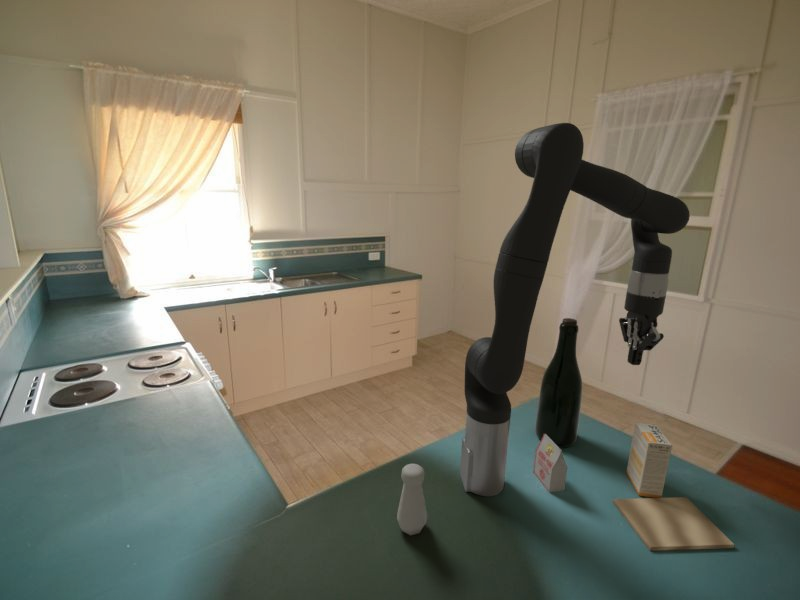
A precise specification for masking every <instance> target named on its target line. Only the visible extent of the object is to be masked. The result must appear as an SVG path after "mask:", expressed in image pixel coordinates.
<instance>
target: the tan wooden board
mask: <svg viewBox="0 0 800 600" xmlns="http://www.w3.org/2000/svg"><path fill="white" fill-rule="evenodd" d="M612 504H613V505H614V506H615V507H616V509H617V510H618V512H619V513H620V514H621V515H622V516H623V518H624V519H625V520H626V522H627V523H628V524H629V526H630V527H631V528H632V530H633V531H634V532H635V533H636V535H637V536H638V537H639V539H640V540H641V541H642V542H643V544H644V545H645V546H646V548H647V549H648V551H650V552H652V551H680V550H681V551H682V550H708V549H709V550H710V549H714V550H715V549H716V550H717V549H734V547H735V543H733V542H732V541H731V540H730V538H728V537H727V536H726V534H724V533H723V532H722V531H721V530H720V529H719V528H718V527H717V526H716V525H715V524H714V523H713V522H712V521H711V520H710V519H709V518H708V517H707V516H706V515H705V514H704V513H703V512H702V511H701V510H700V509H698V507H697V506H696V505H695V504H694V503H693V502H692V501H690V500H689V499H688V498H687V497H685V496H684V497H683V496H682V497H681V496H680V497H662V498H653V497H645V498H643V497H641V498H613V499H612Z"/></svg>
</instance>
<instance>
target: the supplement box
mask: <svg viewBox="0 0 800 600" xmlns="http://www.w3.org/2000/svg"><path fill="white" fill-rule="evenodd" d="M632 433H633V435H632V439H631V444H630V449H629V450H630V451H629V456H628V461H627V467H626V474H627V476H628V478H629V479H630V482H631V484H632V485H633V487H634V489H635V491H636V493H637V495H638V496H641V497H642V496H643V497H645V498H663V497H662V496H663V493H664V486H665V482H666V478H667V471H668V468H669V463H670V459H671V454H672V449H673V444H672V443H671V442H670V441H669V439H668V438H667V437H666V436H665V434H664V433H663V432H662V430H661V429H660V427H659V426H658V425H657V424H656V425H655V424H648V423H641V422H639V423H637V422H635V423H634V428H633V432H632Z"/></svg>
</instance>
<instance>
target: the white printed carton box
mask: <svg viewBox="0 0 800 600" xmlns="http://www.w3.org/2000/svg"><path fill="white" fill-rule="evenodd" d="M533 462H534V463H533V470H532V473H533V474H534V475H535V477H536V478H537V479H538V481H540V483H541V484H542V486H543V487H544V488H545V490H546V491H547V492H548V493H555V492H561V491H565V489H566V488H565V486H566V479H567V472H568V464H567V463H566V460H565V457H564V454H563V450H562V449H561V447H558V446H557V445H556V444H555V443H554V442H553V441H552V440H551V439H550V438H549V437H548V436H547V435H546V434H544V435H543V438H542V440H541V439H540V442H539V443H538V445H537V446H536V449H535V451H534V461H533Z"/></svg>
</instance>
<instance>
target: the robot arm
mask: <svg viewBox="0 0 800 600" xmlns="http://www.w3.org/2000/svg"><path fill="white" fill-rule="evenodd" d="M584 147H585V145H584V137H583V135H582V133H581V131H580V129H579V127H578V126H576V125H575V124H573V123H569V122H560V123H554V124H548V125H546V126H542V127H537V128H534V129H532V130H531V129H530V131H528V132H526V133H525V134H524V135H522V137H520V139H519V140H518V142H517V143H516V146H515V149H514V150H515V151H514V159H515V160H514V161H515V164H516V166H517V167H518V170H520V172H521V173H523V175H525V176H527V177H529V178H532V179H533V181H532V185H531V188H530V189H531V190H530V193H529V196H528V199H527V201H526V204H525V205H524V208H523V209H522V211H521V213H520V214H519V216H518V217H517V218H516V220H515V221H514V223H513V224H512V226H511V227H510V229H509V230H508V232H507V233H506V235H505V236H504V239H503V241H502V243H501V246H500V249H499V253H498V256H497V261H496V264H495V268H494V274H493V297H494V298H493V299H494V313H495V315H494V316H495V318H494V326H493V330H492V334H491V337H490V336H489V337H488V336H486V337H481V338H479V339H477V340H475V341H474V342H473V343H472V344H471V346H469V348H468V351H467V352H466V356H465V363H464V364H465V365H464V391H463V392H464V397H465V402H466V412H465V413H466V416H465V432H464V433H465V434H464V436H463V437H461V453H460V454H461V455H460V469H459V471H460V472H459V475H460V478H461V481H462V485H463V488H464V491H465V492H468V493H469V492H471V493H473V494H475V495H479V496H482V497H493V496H497V495H499V494H500V493H501V492H502V491H503V490H504V488H505V481H506V480H505V479H506V469H507V468H506V467H507V457H508V450H509V449H508V448H509V437H510V426H511V417H512V416H511V415H512V404H511V401H510V399H509V396H508V392H509V391H512V390H513V388H515V386H516V385H517V384H518V382H519V381H520V379H521V376H522V374H523V371H524V365H525V360H526V359H525V358H526V352H527V345H528V341H529V335H530V334H529V333H530V330H531V325H532V321H533V319H534V318H533V317H534V315H535V314H534V313H535V310H536V306H537V302H538V298H539V294H540V291H541V287H542V285H543V281H544V278H545V274H546V271H547V268H548V267H547V266H548V263H549V260H550V256H551V251H552V247H553V243H554V240H555V237H556V234H557V231H558V228H559V224H560V220H561V217H562V214H563V210H564V208H565V205H566V203H567V200H568V197H569V195H570V192H574V193H576V194H578V195H580V196H582V197H585V198H587V199H589V200H591V201H593V202H594V203H596V204H598V205H600V206H602V207H604V208H606V209H607V210H608V211H611V212H612V213H614V214H617V215H619V216H620V217H623V218H626V219H630V227H631V234H632V244H633V249H634V251H633V253H634V255H633V260H632V266H631V271H630V275H629V277H628V282H627V289H626V294H625V301H624V306H623V308H624V310H625V311H626V312H627V313H626V316H625V317H620V318H619V319H618V322H619V327H620V330H621V335H622V338H623V342H624V343H627V347H628V353H627V363H628V364H629V365H632V366H640V365H641V363H642V360H643V354H644V351H652V350H653V349H654V348H655V347H656V346H657V345H658V344H659V343H660V342H661V341H663V339H664V336H665V335H664V334H663V333H661V332H659V331H658V329H657V328H658V318H659V316H661V315H662V314H663V312H664V310H665V309H664V307H665V303H666V298H667V292H668V287H669V273H670V268H671V265H672V264H671V263H672V256H673V249H672V248H671V247H670V246H668V245H666V244H664V243H662V242H661V241H660V238H659V234H665V235H671V234H675V233H679V232H680V231H682V230H683V229H684V228H686V226H687V225H688V223H689V221H690V216H691V215H690V209H689V207H688V205H687V204H686V203H685V202H684V201H683V200H681V199H680V198H678V197H676V196H673V195H671V194H668V193H666V192H662V191H659V190H656V189H653V188H650V187H647V186H646V185H644V184H643V183H641V182H640V181H638V180H637V179H634V178H633V177H631V176H630V175H627V174H625V173H623V172H620V171H617V170H615V169H613V168H608V167H605V166H601V165H599V164H595V163H593V162H590V161H586V160H585V159H583V155H584Z"/></svg>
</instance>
